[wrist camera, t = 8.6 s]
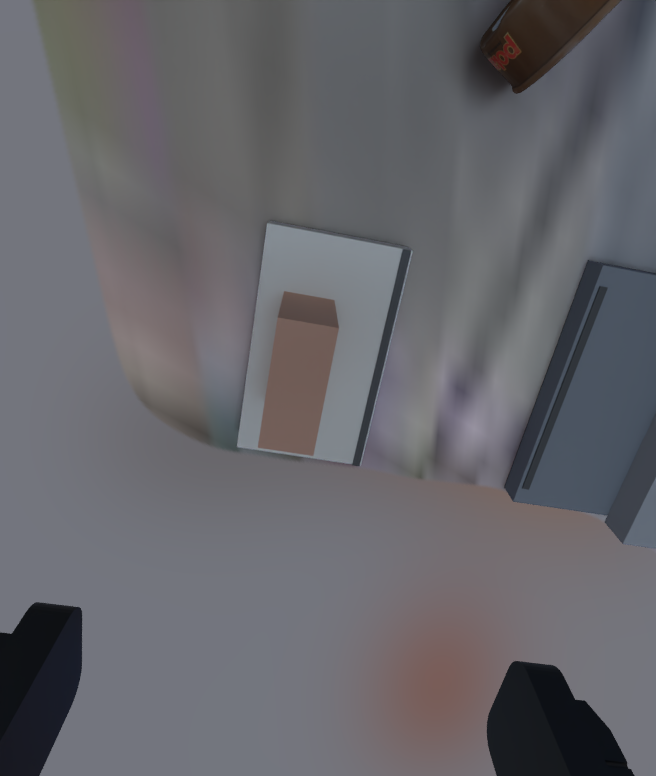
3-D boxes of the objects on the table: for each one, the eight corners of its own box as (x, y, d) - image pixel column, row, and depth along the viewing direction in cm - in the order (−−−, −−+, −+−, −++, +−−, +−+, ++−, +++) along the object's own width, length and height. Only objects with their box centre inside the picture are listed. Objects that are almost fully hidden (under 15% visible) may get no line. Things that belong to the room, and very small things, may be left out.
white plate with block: (407, 246, 26) (435, 268, 20) (358, 452, 31) (369, 520, 25) (269, 220, 26) (256, 235, 20) (240, 434, 30) (222, 499, 24)
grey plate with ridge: (784, 288, 28) (847, 303, 24) (665, 518, 33) (703, 555, 30) (592, 250, 27) (630, 261, 23) (502, 494, 32) (522, 529, 29)
